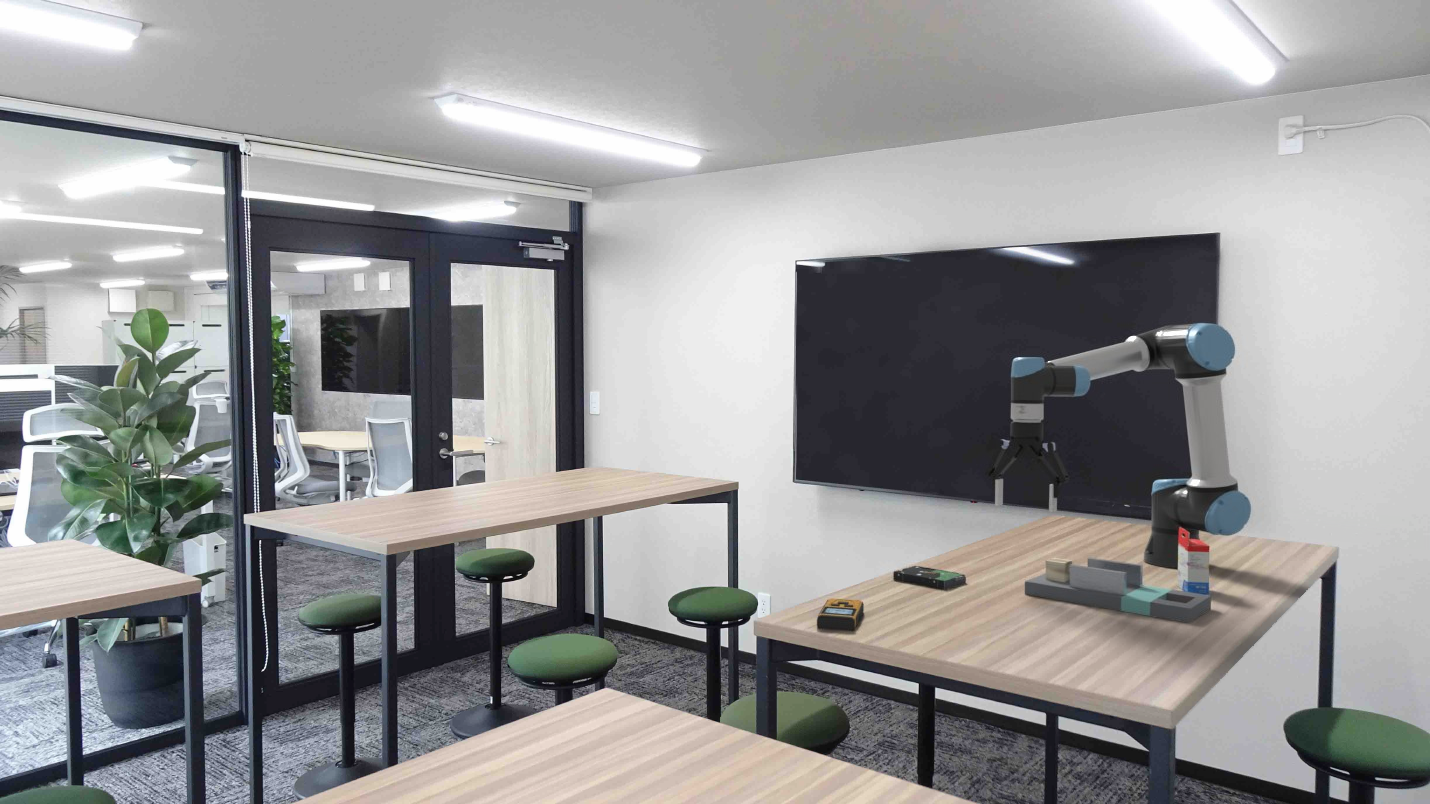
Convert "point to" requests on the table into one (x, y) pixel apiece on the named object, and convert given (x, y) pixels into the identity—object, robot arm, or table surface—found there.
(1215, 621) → the table surface
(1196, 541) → the ink box
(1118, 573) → the tunnel deck
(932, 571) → the disk drive
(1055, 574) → the brass block
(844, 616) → the electronic device
